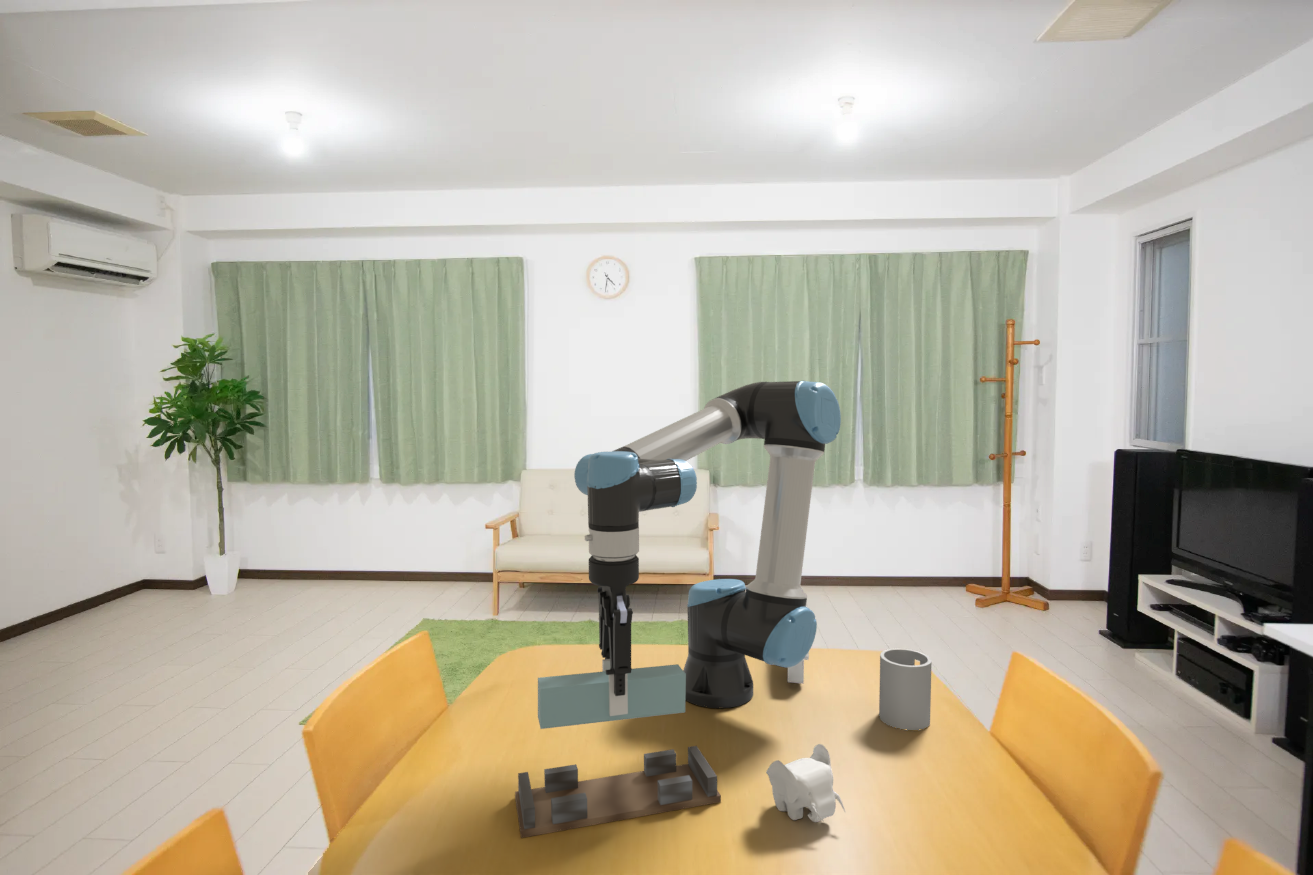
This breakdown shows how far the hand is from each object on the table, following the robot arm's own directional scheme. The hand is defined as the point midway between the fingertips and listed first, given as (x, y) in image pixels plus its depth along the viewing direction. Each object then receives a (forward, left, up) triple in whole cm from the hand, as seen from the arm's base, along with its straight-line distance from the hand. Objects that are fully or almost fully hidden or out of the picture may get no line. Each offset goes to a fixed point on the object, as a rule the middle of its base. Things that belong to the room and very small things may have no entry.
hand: (615, 706), depth 107 cm
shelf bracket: (-50, -39, -15) cm, 65 cm away
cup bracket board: (0, 0, -15) cm, 15 cm away
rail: (0, 0, -1) cm, 1 cm away
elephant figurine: (-26, +11, -15) cm, 32 cm away
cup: (-58, -10, -15) cm, 61 cm away
